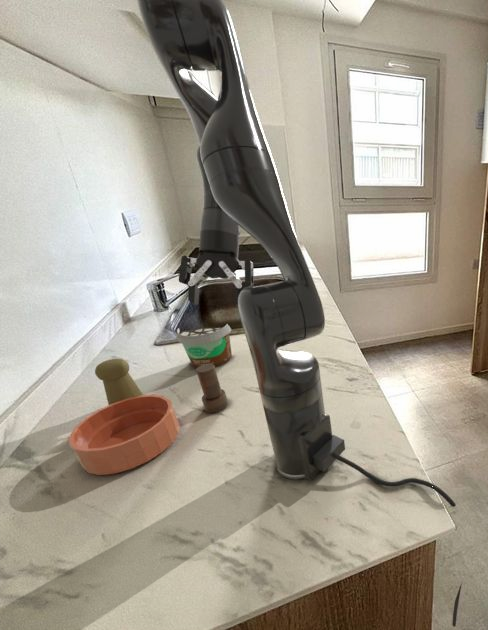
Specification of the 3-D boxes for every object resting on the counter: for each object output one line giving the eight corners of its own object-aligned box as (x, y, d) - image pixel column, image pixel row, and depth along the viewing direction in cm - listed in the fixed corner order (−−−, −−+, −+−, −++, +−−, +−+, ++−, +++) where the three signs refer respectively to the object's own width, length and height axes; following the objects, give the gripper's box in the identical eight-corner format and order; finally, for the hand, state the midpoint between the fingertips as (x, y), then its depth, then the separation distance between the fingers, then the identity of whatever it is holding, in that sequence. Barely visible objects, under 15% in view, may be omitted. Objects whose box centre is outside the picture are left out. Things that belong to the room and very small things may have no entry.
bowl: (196, 433, 65) (187, 409, 62) (106, 490, 53) (92, 464, 51) (156, 409, 71) (147, 386, 68) (68, 456, 59) (53, 431, 57)
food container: (178, 374, 82) (165, 339, 78) (186, 361, 88) (175, 328, 83) (232, 368, 85) (223, 334, 81) (237, 355, 91) (229, 323, 86)
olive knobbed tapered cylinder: (104, 408, 71) (83, 365, 66) (137, 392, 76) (119, 351, 71) (118, 418, 68) (97, 373, 64) (151, 401, 73) (134, 359, 68)
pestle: (232, 403, 73) (222, 365, 69) (213, 415, 69) (200, 376, 65) (220, 397, 75) (209, 359, 71) (200, 408, 71) (187, 370, 67)
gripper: (176, 225, 69) (171, 302, 68) (250, 231, 72) (246, 304, 71) (191, 235, 76) (187, 305, 75) (258, 240, 79) (255, 307, 78)
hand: (216, 305), depth 73 cm, fingers open, 8 cm apart
